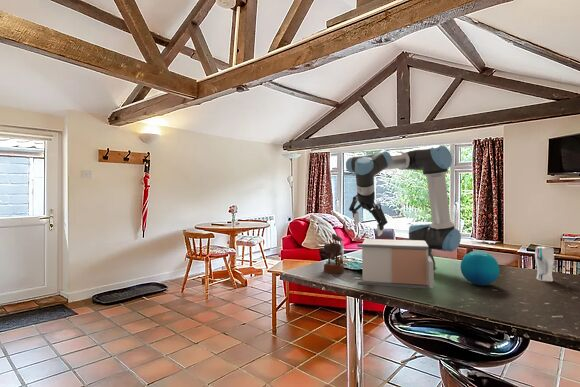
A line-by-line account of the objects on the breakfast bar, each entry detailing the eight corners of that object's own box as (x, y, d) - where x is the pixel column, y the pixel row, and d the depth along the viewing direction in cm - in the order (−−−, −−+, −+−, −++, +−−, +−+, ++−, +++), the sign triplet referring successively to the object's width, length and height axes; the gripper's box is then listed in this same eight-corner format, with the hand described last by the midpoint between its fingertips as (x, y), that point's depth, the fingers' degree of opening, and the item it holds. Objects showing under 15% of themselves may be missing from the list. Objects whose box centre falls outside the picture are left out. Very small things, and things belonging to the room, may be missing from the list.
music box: (350, 270, 176) (348, 233, 175) (340, 277, 168) (338, 237, 166) (325, 266, 186) (323, 231, 184) (315, 272, 177) (312, 235, 175)
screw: (338, 264, 190) (337, 263, 195) (347, 264, 191) (345, 262, 195) (338, 242, 190) (336, 240, 195) (346, 241, 190) (345, 240, 195)
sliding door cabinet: (357, 284, 152) (357, 244, 151) (361, 274, 169) (360, 238, 168) (429, 288, 143) (428, 246, 143) (425, 278, 160) (424, 240, 160)
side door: (392, 291, 136) (391, 254, 135) (392, 282, 149) (391, 248, 149) (433, 294, 131) (433, 255, 131) (429, 284, 144) (429, 249, 144)
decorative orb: (457, 286, 146) (457, 251, 146) (463, 278, 158) (463, 246, 158) (497, 292, 137) (497, 255, 137) (501, 283, 149) (501, 250, 149)
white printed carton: (554, 279, 154) (554, 247, 154) (553, 282, 149) (553, 249, 149) (536, 277, 159) (536, 245, 159) (534, 280, 154) (533, 247, 154)
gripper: (338, 186, 154) (343, 223, 165) (384, 204, 137) (385, 243, 148) (349, 179, 158) (353, 215, 169) (395, 196, 140) (395, 235, 152)
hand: (368, 228), depth 158 cm, fingers open, 13 cm apart
